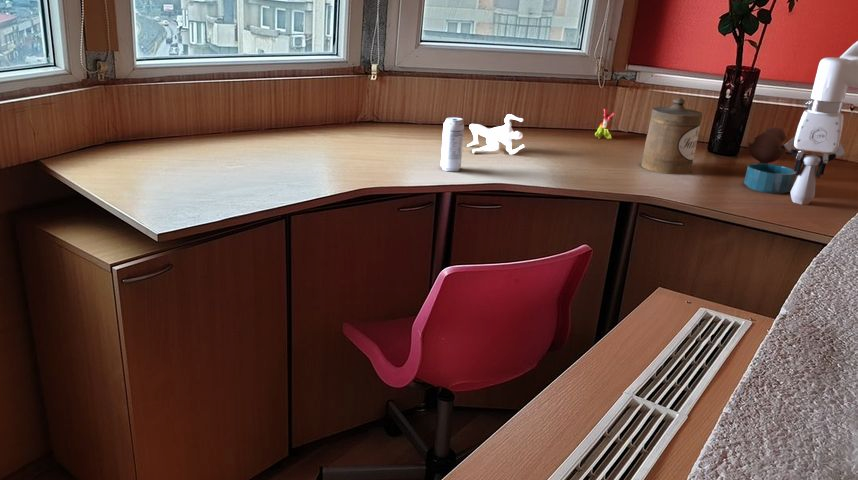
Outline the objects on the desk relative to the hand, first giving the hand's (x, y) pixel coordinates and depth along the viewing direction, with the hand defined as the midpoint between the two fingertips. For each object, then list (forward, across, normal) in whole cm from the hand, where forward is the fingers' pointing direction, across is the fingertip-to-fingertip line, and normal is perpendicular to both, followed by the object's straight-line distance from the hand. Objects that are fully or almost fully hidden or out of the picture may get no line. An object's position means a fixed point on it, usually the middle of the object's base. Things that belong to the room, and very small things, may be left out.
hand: (807, 174), depth 193 cm
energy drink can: (+7, -93, -24) cm, 97 cm away
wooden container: (+8, -37, +18) cm, 42 cm away
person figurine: (+7, -90, +7) cm, 91 cm away
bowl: (+8, -8, +11) cm, 16 cm away
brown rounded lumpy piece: (+8, -10, +28) cm, 31 cm away
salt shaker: (+8, 0, 0) cm, 8 cm away
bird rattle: (+8, -64, +53) cm, 84 cm away
